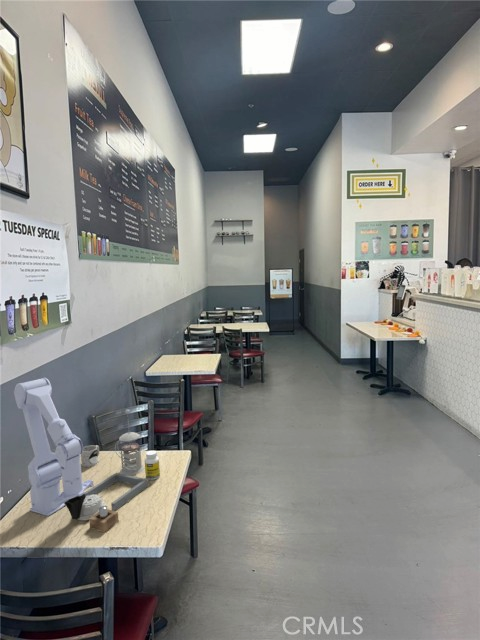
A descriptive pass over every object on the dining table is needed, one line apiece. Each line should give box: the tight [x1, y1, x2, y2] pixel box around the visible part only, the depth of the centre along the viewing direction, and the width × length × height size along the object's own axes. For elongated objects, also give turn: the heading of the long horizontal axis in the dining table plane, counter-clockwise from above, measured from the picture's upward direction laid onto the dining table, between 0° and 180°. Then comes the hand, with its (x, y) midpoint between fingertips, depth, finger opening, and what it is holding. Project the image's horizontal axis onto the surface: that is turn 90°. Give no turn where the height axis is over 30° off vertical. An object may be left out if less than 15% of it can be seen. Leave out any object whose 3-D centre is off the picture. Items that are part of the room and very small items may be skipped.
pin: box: [99, 505, 108, 520], centre depth 123 cm, size 2×2×6 cm
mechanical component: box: [77, 494, 107, 521], centre depth 131 cm, size 10×4×10 cm
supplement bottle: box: [144, 450, 161, 481], centre depth 153 cm, size 5×5×10 cm
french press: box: [114, 409, 145, 476], centre depth 160 cm, size 10×12×25 cm
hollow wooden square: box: [88, 508, 119, 533], centre depth 124 cm, size 6×6×3 cm
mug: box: [80, 444, 100, 468], centre depth 170 cm, size 10×7×7 cm
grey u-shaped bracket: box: [84, 472, 149, 511], centre depth 142 cm, size 15×17×2 cm
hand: (76, 518), depth 126 cm, fingers closed
